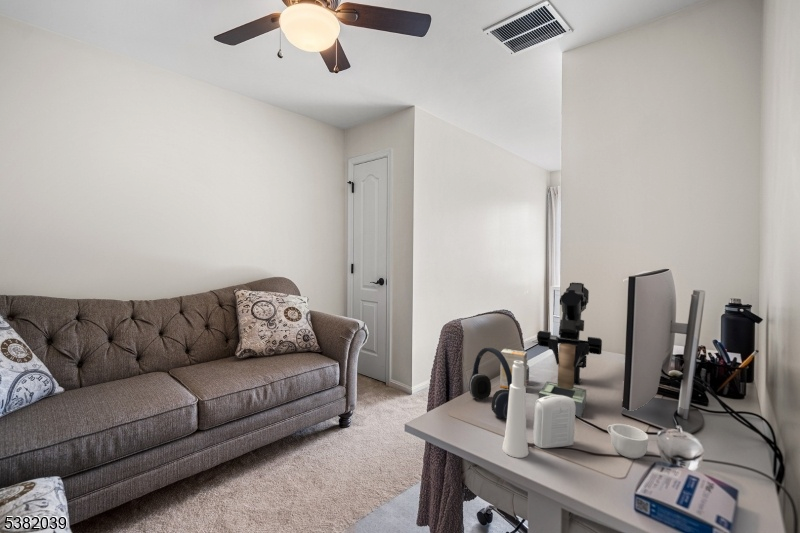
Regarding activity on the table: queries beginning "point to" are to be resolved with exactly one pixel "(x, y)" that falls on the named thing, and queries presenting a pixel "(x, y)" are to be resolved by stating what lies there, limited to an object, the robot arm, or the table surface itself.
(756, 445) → the table surface
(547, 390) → the money box
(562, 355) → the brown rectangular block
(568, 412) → the photo printer
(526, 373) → the pill bottle
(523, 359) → the supplement box
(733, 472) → the table surface
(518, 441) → the cosmetic bottle
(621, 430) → the teacup
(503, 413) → the headphones
